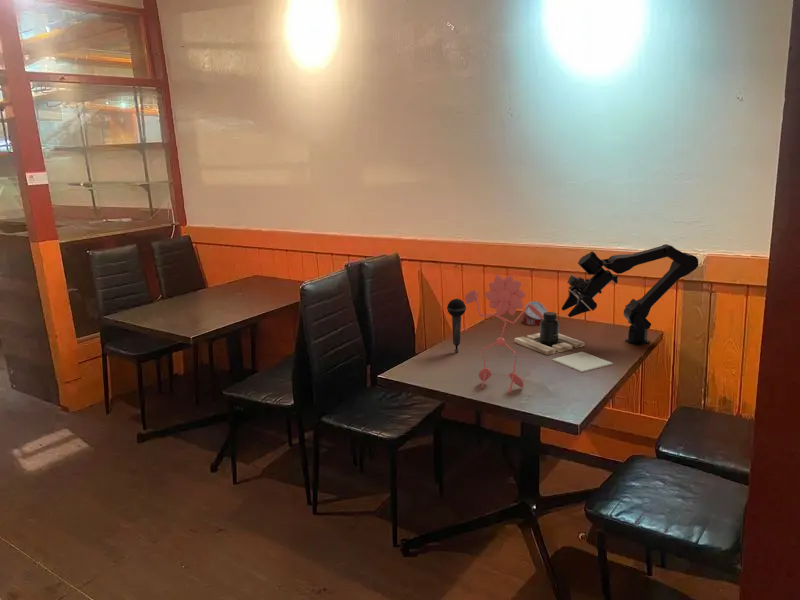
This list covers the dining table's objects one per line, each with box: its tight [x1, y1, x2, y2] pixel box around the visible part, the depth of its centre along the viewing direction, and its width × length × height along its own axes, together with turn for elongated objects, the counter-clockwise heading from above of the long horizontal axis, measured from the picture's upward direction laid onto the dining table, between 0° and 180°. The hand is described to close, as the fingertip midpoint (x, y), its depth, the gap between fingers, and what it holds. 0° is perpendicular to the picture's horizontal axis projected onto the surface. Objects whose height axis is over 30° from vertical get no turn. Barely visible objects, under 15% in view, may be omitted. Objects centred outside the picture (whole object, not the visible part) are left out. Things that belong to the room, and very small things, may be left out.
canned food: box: [522, 300, 548, 327], centre depth 261 cm, size 11×10×10 cm
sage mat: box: [552, 351, 613, 373], centre depth 213 cm, size 14×14×1 cm
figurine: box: [464, 274, 544, 398], centre depth 192 cm, size 15×26×35 cm, turn 59°
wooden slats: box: [513, 332, 585, 356], centre depth 233 cm, size 18×18×2 cm
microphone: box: [446, 298, 467, 353], centre depth 224 cm, size 7×7×20 cm
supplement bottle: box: [539, 311, 560, 348], centre depth 232 cm, size 7×7×12 cm
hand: (565, 312), depth 230 cm, fingers open, 9 cm apart
